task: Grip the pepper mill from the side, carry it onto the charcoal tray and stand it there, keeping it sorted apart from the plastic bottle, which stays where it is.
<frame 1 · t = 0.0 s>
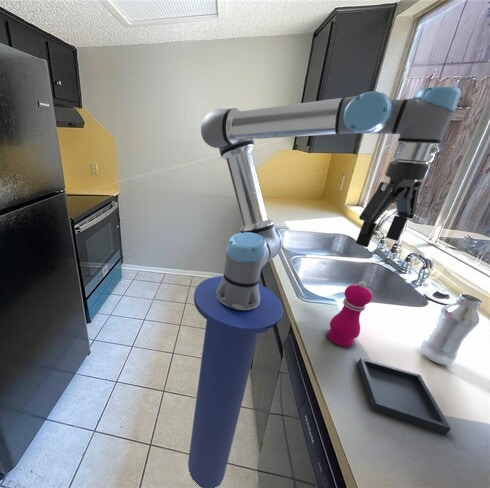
hand: (377, 242, 71), 29 cm above the worktop, tool pointing down, fingers open, 13 cm apart
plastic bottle: (433, 358, 71), on the worktop
pepper mill: (339, 339, 76), on the worktop
tray: (395, 394, 60), on the worktop
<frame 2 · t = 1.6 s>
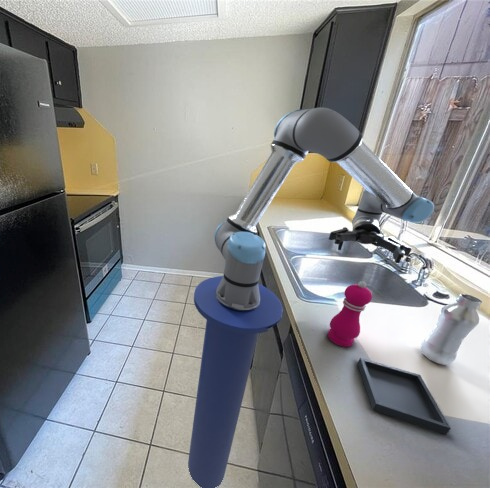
hand: (368, 252, 73), 25 cm above the worktop, tool horizontal, fingers open, 13 cm apart
nothing on the worktop moved.
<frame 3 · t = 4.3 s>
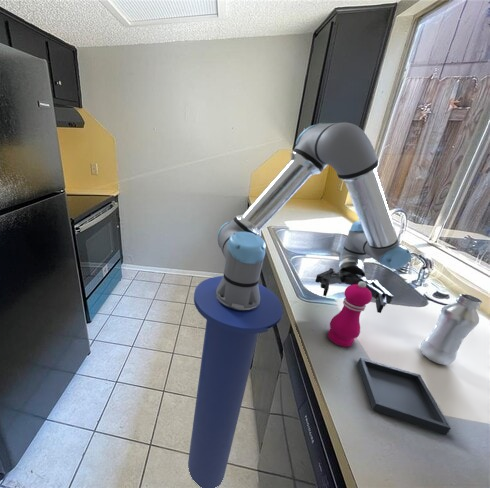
hand: (352, 300, 76), 11 cm above the worktop, tool horizontal, fingers open, 13 cm apart
nothing on the worktop moved.
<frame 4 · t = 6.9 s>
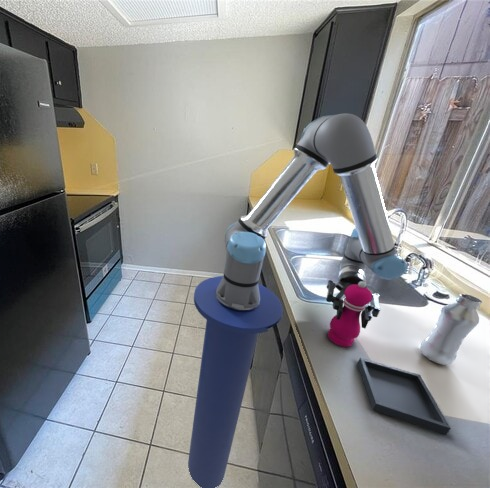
hand: (352, 319, 68), 11 cm above the worktop, tool horizontal, fingers closed on pepper mill, 5 cm apart
pepper mill: (339, 339, 76), on the worktop, touching gripper
everything else where it was.
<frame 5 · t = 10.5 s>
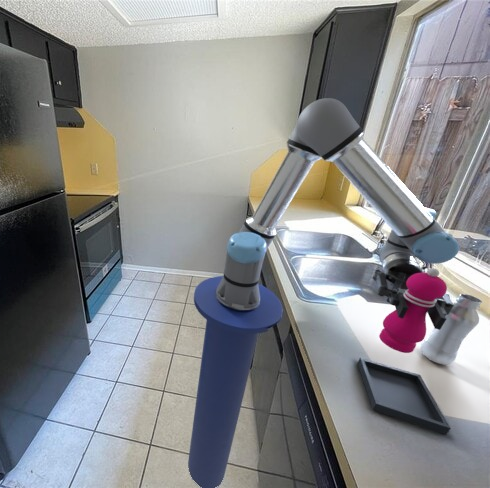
hand: (421, 318, 52), 22 cm above the worktop, tool horizontal, fingers closed on pepper mill, 5 cm apart
pepper mill: (395, 343, 61), point 11 cm above the worktop, touching gripper
everything else where it was.
when the fingers open (12 cm above the worktop, at t = 14.2 s): pepper mill stays where it is, resting on tray.
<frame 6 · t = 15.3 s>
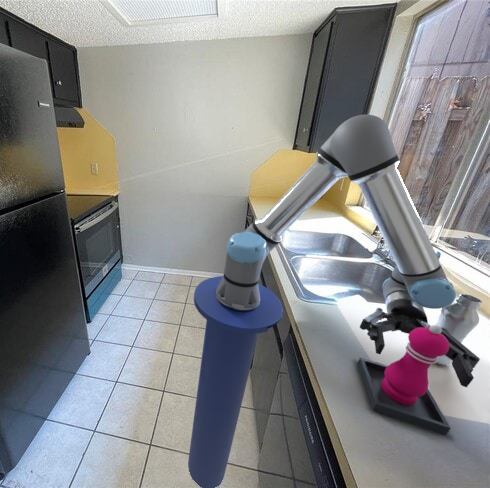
hand: (421, 364, 53), 12 cm above the worktop, tool horizontal, fingers open, 13 cm apart
pepper mill: (396, 393, 60), resting on tray
everything else where it was.
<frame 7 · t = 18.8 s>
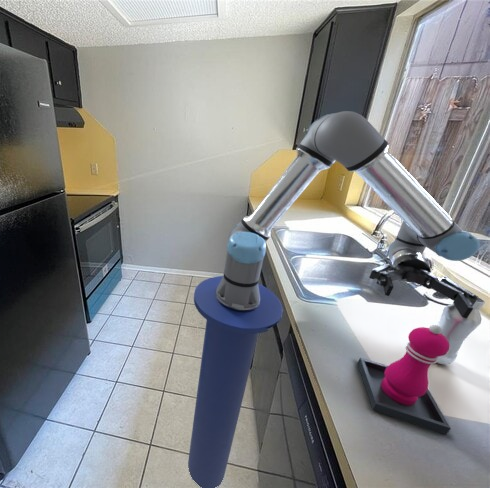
hand: (426, 301, 59), 21 cm above the worktop, tool horizontal, fingers open, 13 cm apart
nothing on the worktop moved.
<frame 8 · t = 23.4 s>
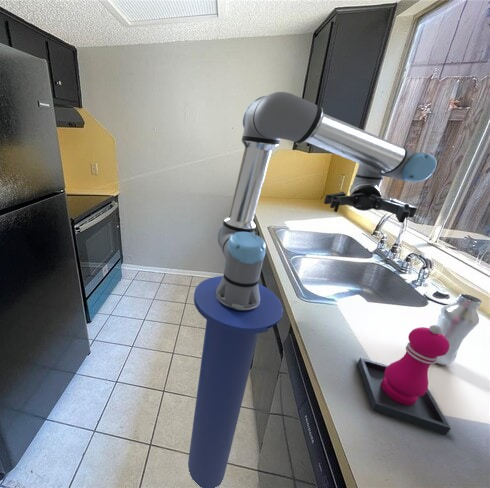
hand: (368, 211, 64), 38 cm above the worktop, tool horizontal, fingers open, 13 cm apart
nothing on the worktop moved.
at the end: pepper mill inside the target area in the tray (0.1 cm from its centre), point 0.4 cm above the tray's base; pepper mill tilted 0°; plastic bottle moved 0.2 cm from its start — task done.
